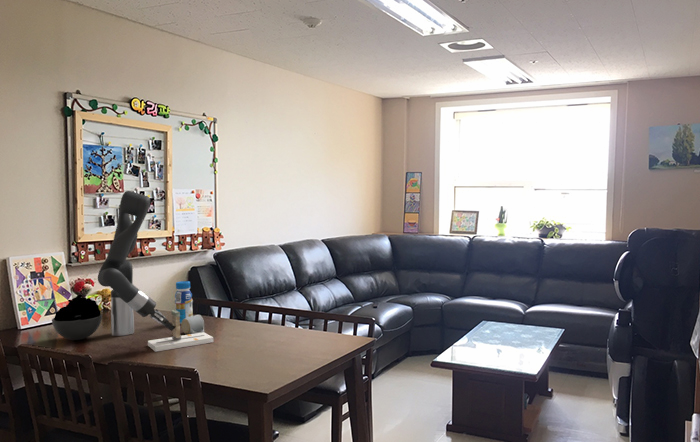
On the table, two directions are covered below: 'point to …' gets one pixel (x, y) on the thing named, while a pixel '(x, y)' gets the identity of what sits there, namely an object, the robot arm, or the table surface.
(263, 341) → the table surface
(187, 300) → the beverage bottle
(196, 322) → the ceramic mug
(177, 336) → the fader tab
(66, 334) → the bowl of black rocks
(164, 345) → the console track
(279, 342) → the table surface
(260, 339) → the table surface
